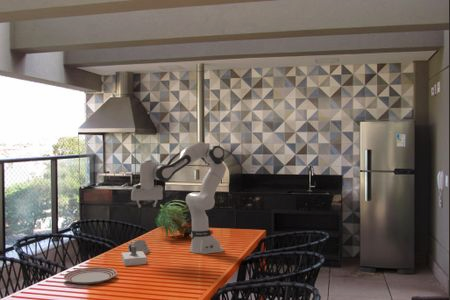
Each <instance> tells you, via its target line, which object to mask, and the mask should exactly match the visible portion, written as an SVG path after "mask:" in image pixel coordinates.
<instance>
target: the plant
mask: <svg viewBox="0 0 450 300" xmlns="http://www.w3.org/2000/svg"><path fill="white" fill-rule="evenodd" d="M175 201H176V202H175ZM181 202H182V203H186V200H185V201H184V200H180V199H179V200H178V199H174V200H172V203H171V202H170V201H168V202H166V203H165V204H164V205H163V204H160V205H159V206H160V210H159V212H158V214H157V215H158V216H157V217H156V218H154V220H155V221H154V223H155V224H156V226H157V227H158V229H159V228H160V229H161V231H162V232H164V233H165V238H167V237H168V236H169V235H173V237H176V235H177V234H179V235H180V236H182V237H183V238H185V239H186V238H188V237H190V236H191V230H192V221H190V218H188V219H185V218H187V216H188V214H184V213H185V212H190V210H189V207H188V205H187V203H186V204H185V205H184V204H182V203H181ZM177 205H180V207H179V206H177ZM187 221H188V222H187Z"/></svg>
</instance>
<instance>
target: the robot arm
mask: <svg viewBox="0 0 450 300" xmlns="http://www.w3.org/2000/svg"><path fill="white" fill-rule="evenodd" d="M200 159H201V160H202V161H203V162H204V163H205V164H207V165H210V167H209V169H208V171H207V173H206V174H205V175H204V177H203V179H202V180H201V189H200V191H199V192H198V191H193V192H190V193H188V194H186V197H185V203H186V204H187V208H189V209H188V210H190V211H189V212H190V219H191V225H192V230H191V235H190V238H191V243H190V248H189V252H190V253H192V254H193V253H194V254H201V255H207V254H214V253H221V252H225V250H224V248H223V247H221V244H220V241H219V240H218V239H217V238H216V237H214V236H213V234H214V231H213V230H210V229H209V216H208V215H207V214H206V211H208V210H211V209H213V208H214V207H215V203H216V201H215V200H216V199H215V194H216V192H217V189H218V188H219V185H220V183H221V182H222V180H223V178H224V176H225V173H226V171H227V167H226V165H225V164H224V160H225V150H224V148H223V147H222V146H220V145H213V146H210V147H208V146H207V145H206V144H205V142H203V141H197V142H195V143H192V144H190V145H188V146H186V147H185V148H184V149H182V150H181V151H180V153H179V158H177V160H175V161H173V162H171V163H170V164H166V165H161V164H158V163H156V162H155V161H153V160H150V159H148V160H144V161H142V162H141V163H140V164H139V165H140V166H139V177H140V178H139V183H137V184H133V186H132V190H131V193H130V195H131V196H130V200H131V201H135V202H136V203H137V206H138V207H137V208H142V204H140V203H139V202H140V201H154V203H152V207H153V208H156V207H157V203H158V200H163V199H164V198H163V197H164V194H163V191H164V187H163V186H162V185H159V184H158V185H155V182H154V181H155V180H157V181H161V182H163V183H164V182H168V181H170V180H171V179H172V178H173V176H174V175H175V174H176V173H177V172H179V171H180V170H182V169H183V168H185V167H186V166H188V165H191V164H193V163H195V162H197V161H198V160H200Z"/></svg>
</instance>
